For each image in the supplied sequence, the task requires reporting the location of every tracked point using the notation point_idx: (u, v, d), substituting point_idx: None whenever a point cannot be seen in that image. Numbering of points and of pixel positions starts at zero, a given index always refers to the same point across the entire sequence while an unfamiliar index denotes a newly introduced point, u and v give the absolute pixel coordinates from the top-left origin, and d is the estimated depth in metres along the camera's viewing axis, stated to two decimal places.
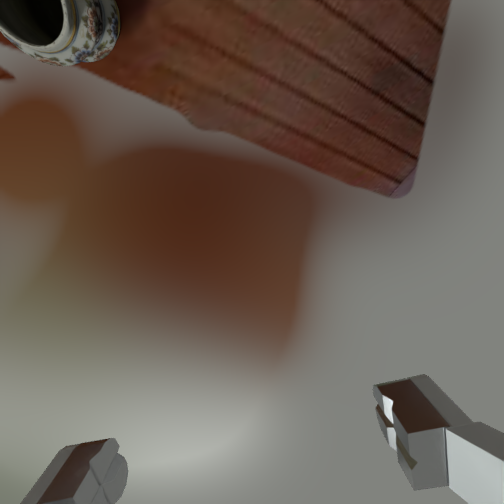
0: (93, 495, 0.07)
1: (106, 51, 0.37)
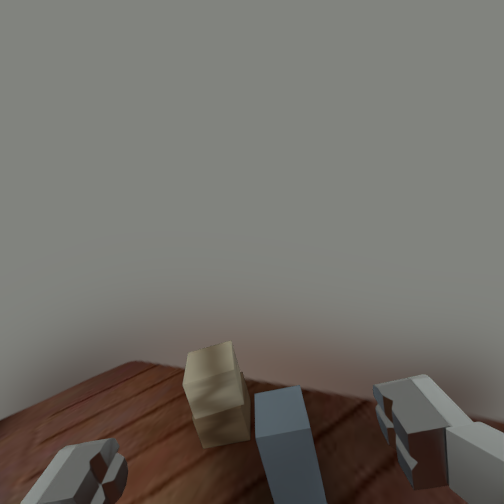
0: (93, 495, 0.07)
1: None
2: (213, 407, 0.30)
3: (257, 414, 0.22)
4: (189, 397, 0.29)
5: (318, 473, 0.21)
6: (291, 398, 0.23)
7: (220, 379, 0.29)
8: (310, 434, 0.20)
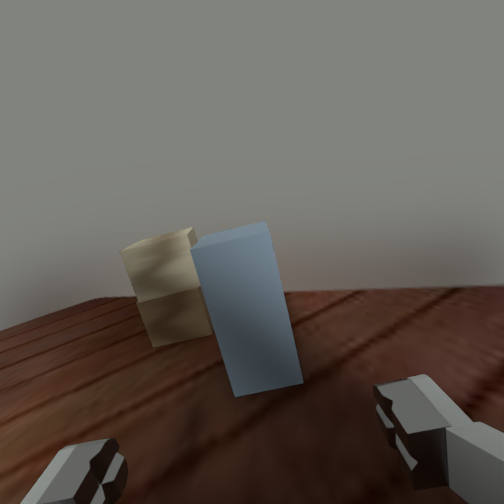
0: (93, 495, 0.07)
1: None
2: (162, 287, 0.23)
3: (201, 241, 0.16)
4: (129, 270, 0.22)
5: (285, 312, 0.15)
6: (251, 226, 0.17)
7: (170, 248, 0.23)
8: (270, 243, 0.14)
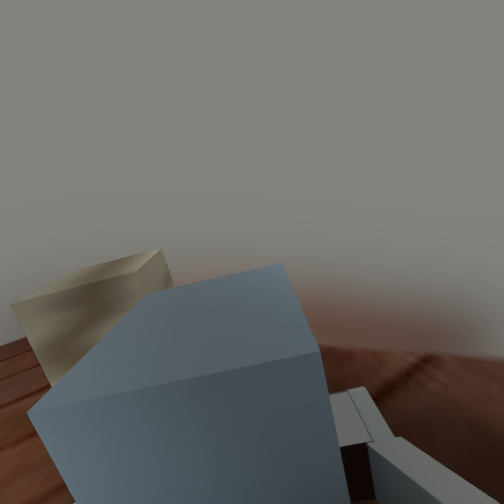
0: None
1: None
2: None
3: (114, 332, 0.06)
4: (32, 336, 0.12)
5: None
6: (250, 286, 0.07)
7: (105, 296, 0.13)
8: (320, 391, 0.04)
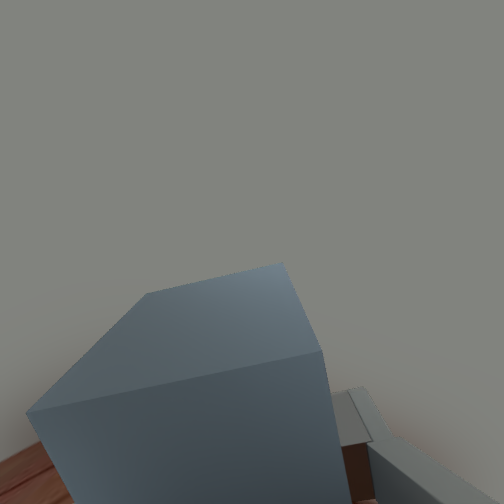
0: None
1: None
2: None
3: (114, 331, 0.06)
4: None
5: None
6: (251, 285, 0.07)
7: None
8: (322, 391, 0.04)
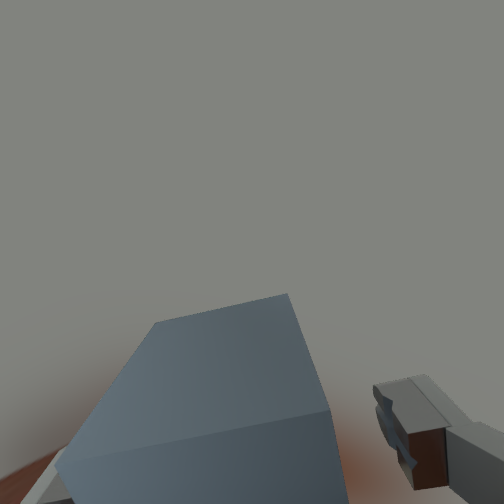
0: None
1: None
2: None
3: (129, 370, 0.06)
4: None
5: None
6: (258, 321, 0.07)
7: None
8: (330, 445, 0.04)
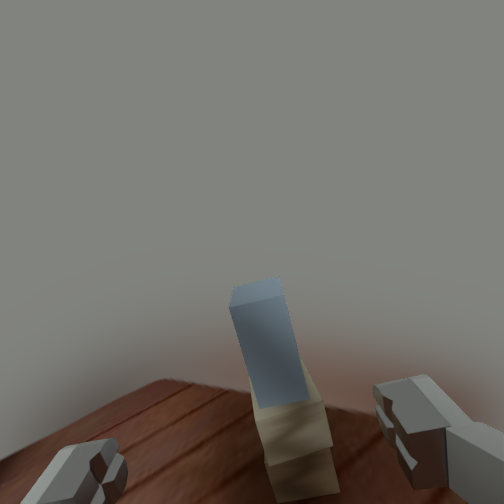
0: (93, 495, 0.07)
1: None
2: (293, 450, 0.22)
3: (234, 296, 0.22)
4: (263, 438, 0.22)
5: (295, 349, 0.21)
6: (269, 283, 0.23)
7: (304, 414, 0.22)
8: (284, 302, 0.20)
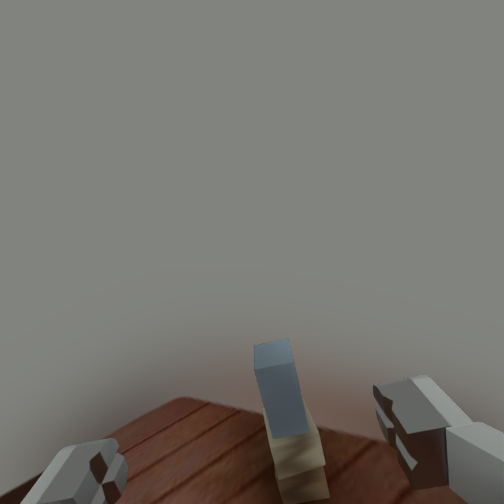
0: (93, 495, 0.07)
1: None
2: (297, 468, 0.31)
3: (256, 356, 0.30)
4: (275, 460, 0.30)
5: (300, 398, 0.29)
6: (281, 346, 0.31)
7: (305, 443, 0.30)
8: (294, 367, 0.28)
